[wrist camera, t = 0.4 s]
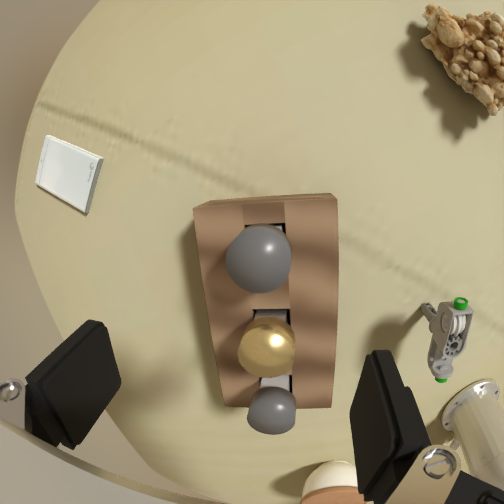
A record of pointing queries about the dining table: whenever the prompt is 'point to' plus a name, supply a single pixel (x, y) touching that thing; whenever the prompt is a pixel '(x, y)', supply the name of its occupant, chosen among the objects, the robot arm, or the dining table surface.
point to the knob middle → (268, 344)
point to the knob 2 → (273, 406)
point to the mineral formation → (470, 52)
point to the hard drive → (68, 172)
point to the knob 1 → (260, 258)
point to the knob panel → (274, 291)
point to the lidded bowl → (332, 485)
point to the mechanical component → (447, 334)
